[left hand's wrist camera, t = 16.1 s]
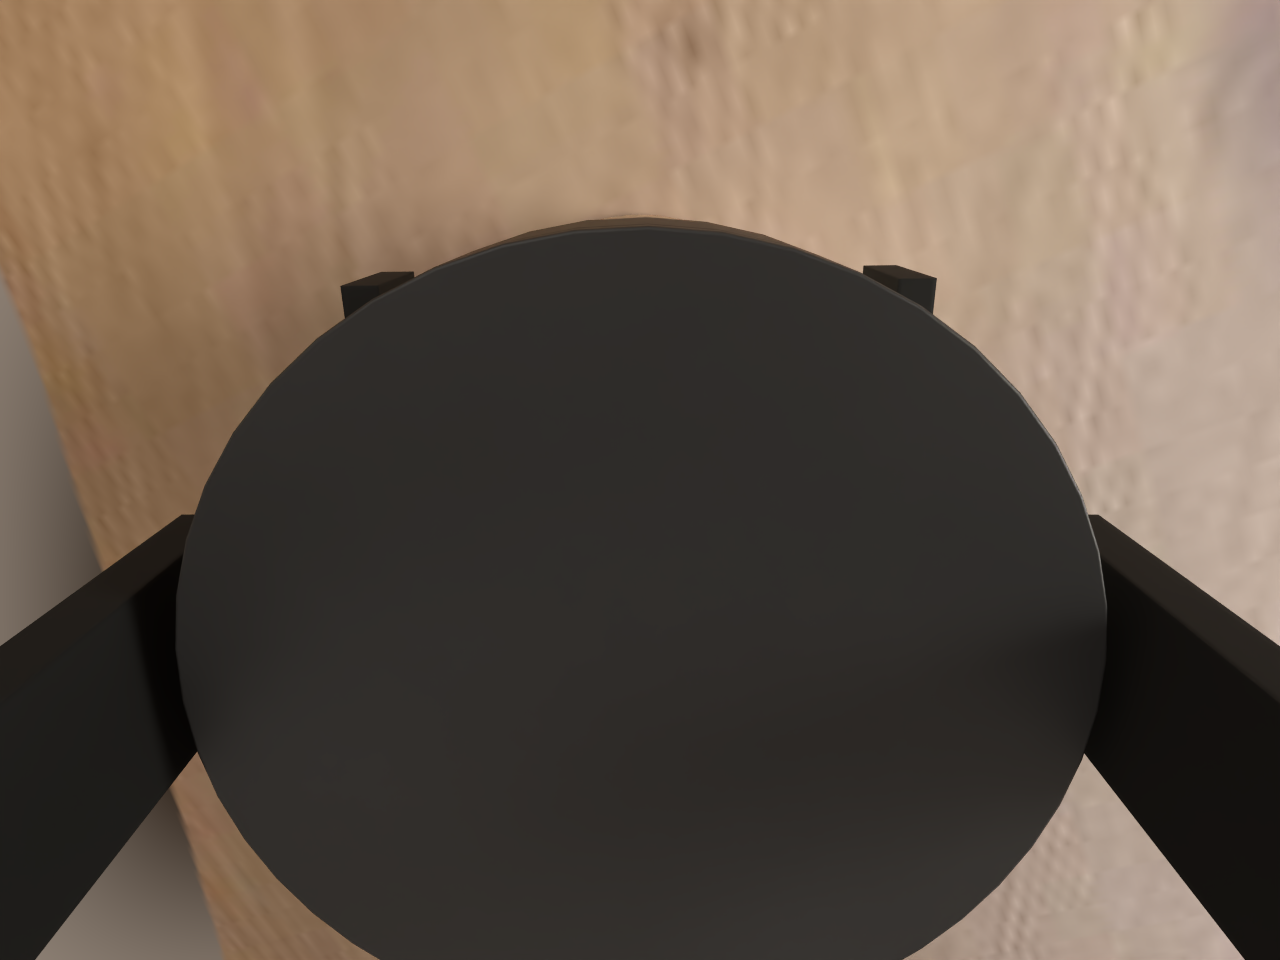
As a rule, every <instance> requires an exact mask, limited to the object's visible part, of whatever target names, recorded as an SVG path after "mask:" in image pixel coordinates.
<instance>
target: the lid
mask: <svg viewBox="0 0 1280 960" xmlns="http://www.w3.org/2000/svg"><path fill="white" fill-rule="evenodd" d="M175 650H176V657H177V665H178V672H179V679H180V687H181V694H182V701H183V705H184V708H185V711H186V715H187V718H188V722H189V725H190V729H191V732H192V735H193V739H194V742H195V746H196V749H197V752H198V754H199V756H200V758H201V761H202V763H203V765H204V767H205V769H206V772H207V774H208V776H209V778H210V780H211V783H212V785H213V787H214V789H215V791H216V794H217V796H218V798H219V799H220V801H221V802H222V804H223V806H224V807H225V809H226V810H227V812H228V814H229V815H230V817H231V818H232V820H233V822H234V823H235V825H236V826H237V828H238V830H239V831H240V833H241V834H242V836H243V838H244V839H245V840H246V842H247V843H248V844H249V845H250V847H251V848H252V849H253V850H254V851H255V853H256V854H257V855H258V856H259V858H260V859H261V860H262V861H263V862H264V864H265V865H266V866H267V867H268V869H269V870H270V871H271V872H272V873H273V875H274V876H275V877H276V878H277V879H278V880H279V881H280V882H281V883H282V884H283V885H284V886H285V887H286V888H287V889H288V890H289V891H290V892H291V893H292V894H293V895H294V896H296V897H297V898H298V899H299V900H300V901H301V902H302V903H303V904H304V905H305V906H306V907H307V908H308V909H309V910H310V911H311V912H312V913H313V914H315V915H316V916H317V917H319V918H320V919H321V920H323V921H324V922H325V923H327V924H328V925H329V926H331V927H332V928H333V929H334V930H336V931H337V932H338V933H340V934H341V935H342V936H344V937H345V938H346V939H348V940H349V941H350V942H352V943H353V944H355V945H356V946H358V947H360V948H361V949H363V950H365V951H366V952H368V953H370V954H371V955H373V956H375V957H376V958H378V959H380V960H903V959H904V958H906V957H908V956H910V955H911V954H913V953H915V952H916V951H918V950H920V949H922V948H923V947H924V946H926V945H927V944H929V943H930V942H931V941H933V940H934V939H935V938H937V937H938V936H940V935H941V934H942V933H944V932H945V931H946V930H948V929H949V928H951V927H952V926H953V925H955V924H956V923H957V922H959V921H960V920H962V919H963V918H964V917H965V916H966V915H967V914H968V913H969V912H970V911H972V910H973V909H974V908H975V907H976V906H977V905H978V904H979V903H980V902H981V901H982V900H984V899H985V898H986V897H987V896H988V895H989V894H990V893H991V892H992V891H993V890H995V889H996V888H997V887H998V886H999V885H1000V884H1001V883H1002V881H1003V880H1004V879H1005V878H1006V877H1007V876H1008V874H1009V873H1010V872H1011V871H1012V870H1013V869H1014V867H1015V866H1016V865H1017V864H1018V863H1019V862H1020V860H1021V859H1022V858H1023V857H1024V856H1025V855H1026V854H1027V852H1028V851H1029V850H1030V849H1031V848H1032V846H1033V845H1034V843H1035V842H1036V840H1037V839H1038V837H1039V836H1040V834H1041V833H1042V831H1043V830H1044V828H1045V827H1046V825H1047V824H1048V822H1049V821H1050V819H1051V818H1052V816H1053V815H1054V813H1055V812H1056V810H1057V809H1058V807H1059V806H1060V804H1061V802H1062V800H1063V798H1064V795H1065V793H1066V791H1067V789H1068V787H1069V785H1070V783H1071V781H1072V779H1073V777H1074V775H1075V773H1076V771H1077V769H1078V767H1079V765H1080V763H1081V761H1082V758H1083V755H1084V752H1085V749H1086V746H1087V743H1088V739H1089V736H1090V733H1091V730H1092V727H1093V724H1094V721H1095V718H1096V715H1097V712H1098V706H1099V700H1100V695H1101V689H1102V683H1103V677H1104V671H1105V665H1106V653H1107V601H1106V595H1105V588H1104V581H1103V574H1102V567H1101V560H1100V553H1099V548H1098V545H1097V542H1096V539H1095V536H1094V532H1093V529H1092V526H1091V523H1090V520H1089V516H1088V513H1087V510H1086V507H1085V503H1084V500H1083V497H1082V495H1081V493H1080V491H1079V489H1078V487H1077V485H1076V482H1075V480H1074V478H1073V476H1072V474H1071V472H1070V470H1069V468H1068V466H1067V464H1066V462H1065V460H1064V458H1063V456H1062V454H1061V452H1060V450H1059V448H1058V446H1057V444H1056V442H1055V441H1054V440H1053V438H1052V437H1051V435H1050V434H1049V433H1048V431H1047V430H1046V428H1045V427H1044V426H1043V424H1042V423H1041V421H1040V420H1039V419H1038V417H1037V416H1036V414H1035V413H1034V411H1033V410H1032V409H1031V407H1030V406H1029V404H1028V403H1027V402H1026V400H1025V399H1024V397H1023V396H1022V395H1021V393H1020V392H1019V391H1018V390H1017V389H1016V388H1015V387H1014V386H1013V385H1012V384H1011V383H1010V382H1009V381H1008V380H1007V379H1006V378H1005V377H1004V376H1003V375H1002V374H1001V373H1000V371H999V370H998V369H997V368H996V367H995V366H994V365H993V364H992V363H991V362H990V361H989V360H988V359H987V358H986V357H985V356H984V355H983V354H982V353H981V352H980V351H979V350H978V349H977V348H976V347H975V346H974V345H972V344H971V343H970V342H969V341H967V340H966V339H965V338H963V337H962V336H961V335H959V334H958V333H957V332H955V331H954V330H953V329H951V328H950V327H949V326H947V325H946V324H945V323H943V322H942V321H941V320H939V319H938V318H937V317H935V316H934V315H933V314H932V313H930V312H929V311H928V310H926V309H925V308H924V307H922V306H921V305H919V304H917V303H915V302H913V301H912V300H910V299H908V298H906V297H904V296H902V295H901V294H899V293H897V292H895V291H893V290H891V289H890V288H888V287H886V286H884V285H882V284H881V283H879V282H877V281H875V280H873V279H871V278H870V277H868V276H866V275H864V274H862V273H860V272H858V271H855V270H853V269H851V268H848V267H846V266H843V265H841V264H838V263H836V262H833V261H831V260H829V259H826V258H824V257H821V256H819V255H816V254H814V253H811V252H808V251H806V250H803V249H800V248H798V247H795V246H792V245H790V244H787V243H784V242H782V241H779V240H776V239H774V238H771V237H768V236H766V235H762V234H758V233H754V232H749V231H745V230H740V229H736V228H731V227H727V226H722V225H718V224H713V223H709V222H701V221H689V220H677V219H664V218H652V217H639V218H621V219H603V220H587V221H582V222H577V223H571V224H566V225H561V226H556V227H551V228H546V229H541V230H536V231H531V232H527V233H524V234H521V235H519V236H516V237H513V238H510V239H507V240H504V241H501V242H498V243H495V244H492V245H490V246H487V247H484V248H481V249H478V250H475V251H473V252H470V253H468V254H465V255H463V256H460V257H458V258H456V259H453V260H451V261H448V262H446V263H443V264H441V265H439V266H436V267H434V268H432V269H430V270H428V271H426V272H424V273H422V274H420V275H418V276H416V277H414V278H412V279H411V280H409V281H407V282H405V283H403V284H401V285H399V286H397V287H395V288H393V289H391V290H389V291H387V292H385V293H383V294H381V295H379V296H377V297H375V298H373V299H372V300H370V301H369V302H368V303H366V304H365V305H363V306H362V307H361V308H359V309H358V310H356V311H355V312H353V313H352V314H351V315H349V316H348V317H346V318H345V319H344V320H342V321H341V322H339V323H338V324H337V325H335V326H334V327H332V328H331V329H330V330H328V331H327V332H325V333H324V334H323V335H321V336H320V337H318V338H317V339H316V340H315V341H314V342H313V343H312V344H311V345H310V346H309V347H308V348H307V349H306V350H305V351H304V352H303V353H302V354H301V355H300V356H298V357H297V358H296V359H295V360H294V361H293V362H292V363H291V364H290V365H289V366H288V367H287V368H286V369H285V370H284V371H283V372H282V373H281V374H280V375H279V376H278V377H277V378H276V379H275V380H274V381H273V382H272V383H271V384H270V385H269V386H268V388H267V389H266V390H265V392H264V393H263V394H262V395H261V397H260V398H259V399H258V401H257V402H256V403H255V405H254V406H253V407H252V409H251V410H250V411H249V413H248V414H247V415H246V417H245V418H244V419H243V421H242V422H241V423H240V424H239V426H238V427H237V428H236V430H235V431H234V432H233V434H232V436H231V438H230V440H229V441H228V443H227V445H226V447H225V449H224V451H223V453H222V455H221V456H220V458H219V460H218V462H217V464H216V466H215V468H214V469H213V471H212V473H211V475H210V477H209V479H208V481H207V483H206V484H205V487H204V490H203V492H202V495H201V498H200V501H199V504H198V507H197V510H196V513H195V516H194V518H193V521H192V524H191V527H190V530H189V533H188V536H187V539H186V543H185V549H184V555H183V560H182V566H181V572H180V577H179V583H178V589H177V594H176V640H175Z"/></svg>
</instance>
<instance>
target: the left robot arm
mask: <svg viewBox="0 0 1280 960" xmlns="http://www.w3.org/2000/svg"><path fill="white" fill-rule="evenodd" d="M194 516H195V515H181V516H179V517H178V518H176V519H175V520H174V521H172V522H171V523H170V524H168V525H167V526H165V527H164V528H163V529H161V530H160V531H159V532H157V533H156V534H154V535H153V536H152V537H150V538H149V539H148V540H146V541H145V542H143V543H142V544H141V545H139V546H138V547H137V548H135V549H134V550H132V551H131V552H130V553H128V554H127V555H125V556H124V557H123V558H121V559H120V560H119V561H117V562H116V563H114V564H113V565H112V566H110V567H109V568H108V569H106V570H105V571H103V572H102V573H101V574H99V575H98V576H97V577H95V578H94V579H92V580H91V581H90V582H88V583H87V584H86V585H84V586H83V587H81V588H80V589H79V590H77V591H76V592H75V593H73V594H72V595H70V596H69V597H68V598H66V599H65V600H63V601H62V602H61V603H59V604H58V605H57V606H55V607H54V608H52V609H51V610H50V611H48V612H47V613H46V614H44V615H43V616H41V617H40V618H39V619H37V620H36V621H34V622H33V623H32V624H30V625H29V626H28V627H26V628H25V629H23V630H22V631H21V632H19V633H18V634H17V635H15V636H14V637H12V638H11V639H10V640H8V641H7V642H6V643H4V644H3V645H1V646H0V960H35V959H36V958H37V956H38V955H39V954H40V953H41V951H42V950H43V949H44V948H45V946H46V945H47V944H48V942H49V941H50V940H51V939H52V937H53V936H54V935H55V933H56V932H57V931H58V930H59V928H60V927H61V926H62V924H63V923H64V922H65V921H66V919H67V918H68V917H69V915H70V914H71V913H72V911H73V910H74V909H75V908H76V906H77V905H78V904H79V903H80V901H81V900H82V899H83V897H84V896H85V895H86V894H87V892H88V891H89V890H90V888H91V887H92V886H93V885H94V883H95V882H96V881H97V879H98V878H99V877H100V876H101V874H102V873H103V872H104V870H105V869H106V868H107V867H108V865H109V864H110V863H111V861H112V860H113V859H114V858H115V856H116V855H117V854H118V852H119V851H120V850H121V849H122V847H123V846H124V845H125V843H126V842H127V841H128V840H129V838H130V837H131V836H132V834H133V833H134V832H135V831H136V829H137V828H138V827H139V825H140V824H141V823H142V822H143V820H144V819H145V818H146V816H147V815H148V814H149V813H150V811H151V810H152V809H153V808H154V806H155V805H156V804H157V802H158V801H159V800H160V798H161V797H162V796H163V795H164V793H165V792H166V791H167V789H168V788H169V787H170V786H171V784H172V783H173V782H174V781H175V779H176V778H177V777H178V775H179V774H180V773H181V772H182V770H183V769H184V768H185V766H186V765H187V764H188V763H189V761H190V760H191V759H192V757H193V756H194V755H195V754H196V752H197V749H196V746H195V742H194V739H193V735H192V732H191V729H190V725H189V722H188V718H187V715H186V711H185V708H184V705H183V701H182V694H181V687H180V679H179V672H178V665H177V657H176V650H175V640H176V594H177V589H178V583H179V577H180V572H181V566H182V560H183V555H184V549H185V543H186V539H187V536H188V533H189V530H190V527H191V524H192V521H193V518H194ZM1088 516H1089V520H1090V523H1091V526H1092V529H1093V532H1094V536H1095V539H1096V542H1097V545H1098V548H1099V553H1100V560H1101V567H1102V574H1103V581H1104V588H1105V595H1106V601H1107V653H1106V665H1105V671H1104V677H1103V683H1102V689H1101V695H1100V700H1099V706H1098V712H1097V715H1096V718H1095V721H1094V724H1093V727H1092V730H1091V733H1090V736H1089V739H1088V743H1087V746H1086V749H1085V752H1084V754H1085V755H1086V756H1087V757H1088V759H1089V760H1090V761H1091V763H1092V764H1093V765H1094V766H1095V768H1096V769H1097V770H1098V772H1099V773H1100V774H1101V775H1102V777H1103V778H1104V779H1105V781H1106V782H1107V783H1108V784H1109V786H1110V787H1111V788H1112V790H1113V791H1114V792H1115V793H1116V795H1117V796H1118V797H1119V799H1120V800H1121V801H1122V802H1123V804H1124V805H1125V806H1126V808H1127V809H1128V810H1129V811H1130V813H1131V814H1132V815H1133V817H1134V818H1135V819H1136V820H1137V822H1138V823H1139V824H1140V825H1141V827H1142V828H1143V829H1144V831H1145V832H1146V833H1147V834H1148V836H1149V837H1150V838H1151V840H1152V841H1153V842H1154V843H1155V845H1156V846H1157V847H1158V849H1159V850H1160V851H1161V852H1162V854H1163V855H1164V856H1165V858H1166V859H1167V860H1168V861H1169V863H1170V864H1171V865H1172V867H1173V868H1174V869H1175V870H1176V872H1177V873H1178V874H1179V876H1180V877H1181V878H1182V879H1183V881H1184V882H1185V883H1186V885H1187V886H1188V887H1189V888H1190V890H1191V891H1192V892H1193V894H1194V895H1195V896H1196V897H1197V899H1198V900H1199V901H1200V903H1201V904H1202V905H1203V906H1204V908H1205V909H1206V910H1207V912H1208V913H1209V914H1210V915H1211V917H1212V918H1213V919H1214V921H1215V922H1216V923H1217V924H1218V926H1219V927H1220V928H1221V930H1222V931H1223V932H1224V933H1225V935H1226V936H1227V937H1228V939H1229V940H1230V941H1231V942H1232V944H1233V945H1234V946H1235V948H1236V949H1237V950H1238V951H1239V953H1240V954H1241V955H1242V957H1243V958H1244V959H1245V960H1280V646H1279V645H1277V644H1276V643H1274V642H1273V641H1272V640H1270V639H1269V638H1268V637H1266V636H1265V635H1263V634H1262V633H1261V632H1259V631H1258V630H1257V629H1255V628H1254V627H1252V626H1251V625H1250V624H1248V623H1247V622H1246V621H1244V620H1243V619H1241V618H1240V617H1239V616H1237V615H1236V614H1235V613H1233V612H1232V611H1230V610H1229V609H1228V608H1226V607H1225V606H1223V605H1222V604H1221V603H1219V602H1218V601H1217V600H1215V599H1214V598H1212V597H1211V596H1210V595H1208V594H1207V593H1206V592H1204V591H1203V590H1201V589H1200V588H1199V587H1197V586H1196V585H1195V584H1193V583H1192V582H1190V581H1189V580H1188V579H1186V578H1185V577H1183V576H1182V575H1181V574H1179V573H1178V572H1177V571H1175V570H1174V569H1172V568H1171V567H1170V566H1168V565H1167V564H1166V563H1164V562H1163V561H1161V560H1160V559H1159V558H1157V557H1156V556H1155V555H1153V554H1152V553H1150V552H1149V551H1148V550H1146V549H1145V548H1143V547H1142V546H1141V545H1139V544H1138V543H1137V542H1135V541H1134V540H1132V539H1131V538H1130V537H1128V536H1127V535H1126V534H1124V533H1123V532H1121V531H1120V530H1119V529H1117V528H1116V527H1115V526H1113V525H1112V524H1110V523H1109V522H1108V521H1106V520H1105V519H1104V518H1102V517H1101V516H1099V515H1088Z"/></svg>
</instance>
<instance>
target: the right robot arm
mask: <svg viewBox="0 0 1280 960" xmlns="http://www.w3.org/2000/svg"><path fill="white" fill-rule="evenodd" d="M863 274H864V275H866V276H868V277H870V278H871V279H873V280H875V281H877V282H879V283H881V284H882V285H884V286H886V287H888V288H890V289H891V290H893V291H895V292H897V293H899V294H901V295H902V296H904V297H906V298H908V299H910V300H912V301H913V302H915V303H917V304H919V305H921V306H922V307H924V308H925V309H926V310H928V311H929V312H930V313H932V314H933V308H934V299H935V290H936V281H937V278H934V277H931V276H928V275H925V274H922V273H919V272H916V271H912V270H909V269H906V268H903V267H900V266H897V265H880V266H864V267H863ZM412 278H414V272H380V273H377V274H374V275H371V276H368V277H365V278H363V279H360V280H357V281H354V282H351V283H348V284H345V285H342V286H341V293H342V301H343V308H344V315H345V318H346V317H348V316H349V315H351V314H352V313H353V312H355V311H356V310H358V309H359V308H361V307H362V306H363V305H365V304H366V303H368V302H369V301H370V300H372V299H373V298H375V297H377V296H379V295H381V294H383V293H385V292H387V291H389V290H391V289H393V288H395V287H397V286H399V285H401V284H403V283H405V282H407V281H409V280H411V279H412Z"/></svg>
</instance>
